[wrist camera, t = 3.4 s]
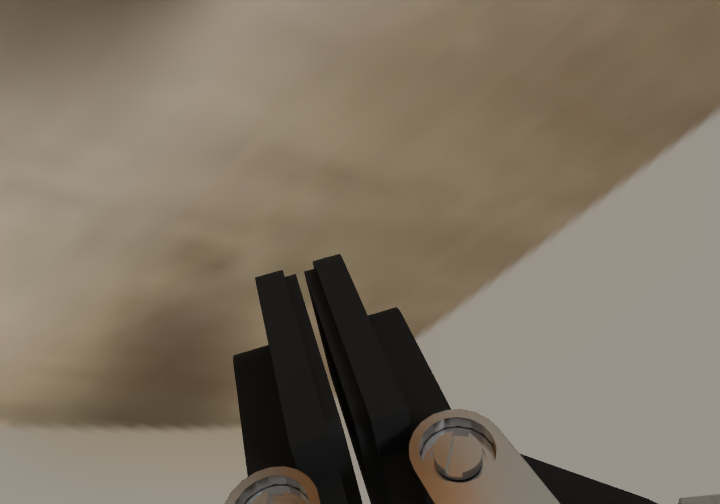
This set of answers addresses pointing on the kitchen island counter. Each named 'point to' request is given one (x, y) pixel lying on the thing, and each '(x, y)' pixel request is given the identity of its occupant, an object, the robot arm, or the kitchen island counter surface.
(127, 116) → the kitchen island counter surface
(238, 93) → the kitchen island counter surface
